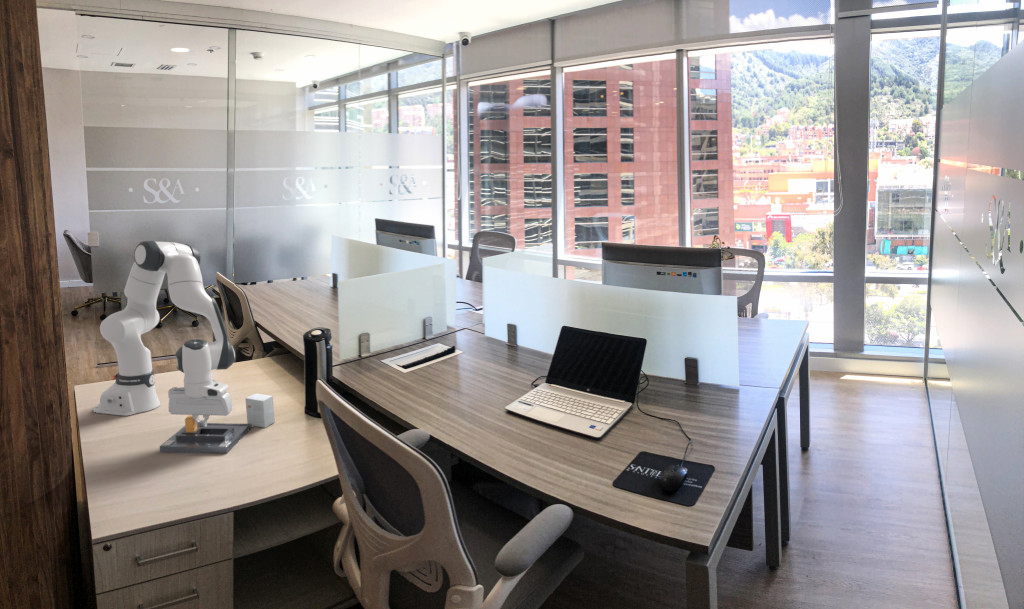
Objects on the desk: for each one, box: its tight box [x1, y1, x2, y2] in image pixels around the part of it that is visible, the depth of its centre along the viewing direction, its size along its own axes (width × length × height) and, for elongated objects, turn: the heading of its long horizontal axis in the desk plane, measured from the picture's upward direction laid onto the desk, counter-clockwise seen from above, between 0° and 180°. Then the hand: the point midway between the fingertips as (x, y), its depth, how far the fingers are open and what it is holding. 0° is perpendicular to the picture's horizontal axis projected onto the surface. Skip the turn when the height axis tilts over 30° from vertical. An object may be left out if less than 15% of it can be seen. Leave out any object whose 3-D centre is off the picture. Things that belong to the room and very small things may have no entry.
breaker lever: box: [183, 415, 201, 434], centre depth 223 cm, size 4×4×6 cm
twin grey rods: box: [207, 422, 253, 431], centre depth 235 cm, size 22×3×1 cm, turn 91°
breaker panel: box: [159, 425, 249, 454], centre depth 223 cm, size 22×18×4 cm
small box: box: [245, 393, 276, 429], centre depth 239 cm, size 8×6×10 cm
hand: (201, 426), depth 223 cm, fingers closed
